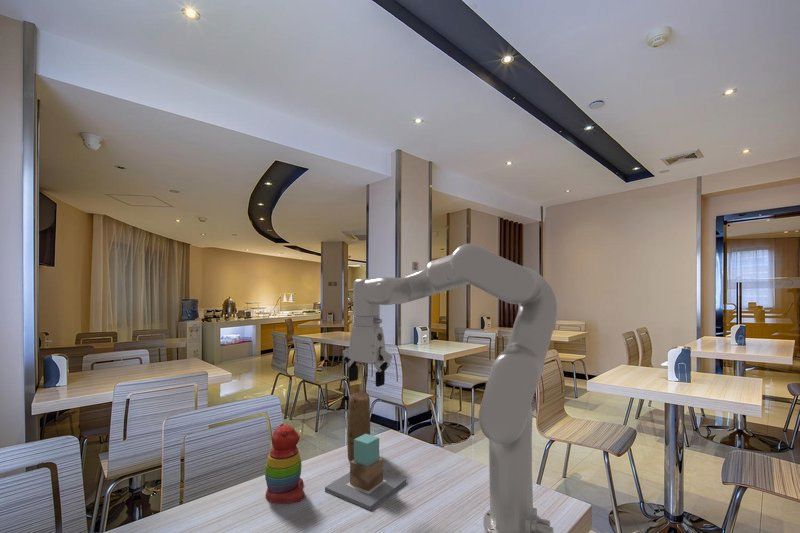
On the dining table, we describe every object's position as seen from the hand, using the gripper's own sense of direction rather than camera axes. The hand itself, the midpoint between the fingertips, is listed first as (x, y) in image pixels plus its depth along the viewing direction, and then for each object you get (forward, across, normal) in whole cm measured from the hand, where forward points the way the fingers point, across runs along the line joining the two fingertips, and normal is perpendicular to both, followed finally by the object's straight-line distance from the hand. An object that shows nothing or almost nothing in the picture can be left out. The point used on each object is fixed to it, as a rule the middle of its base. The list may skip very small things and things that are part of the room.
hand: (366, 383), depth 105 cm
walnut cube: (+27, 0, 0) cm, 27 cm away
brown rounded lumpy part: (+28, +14, -13) cm, 34 cm away
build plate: (+28, 0, 0) cm, 28 cm away
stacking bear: (+28, +16, +15) cm, 36 cm away
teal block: (+21, 0, 0) cm, 21 cm away
